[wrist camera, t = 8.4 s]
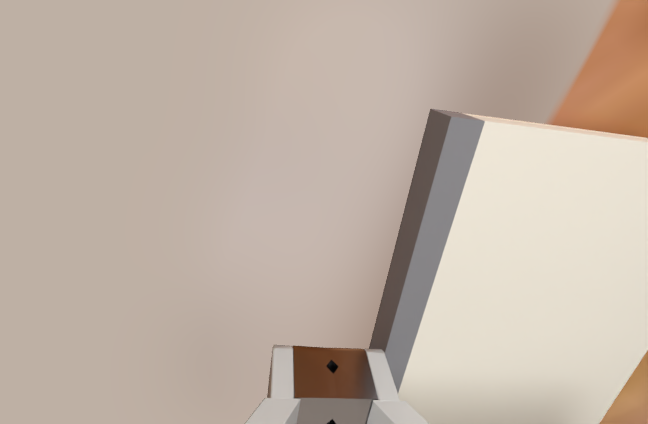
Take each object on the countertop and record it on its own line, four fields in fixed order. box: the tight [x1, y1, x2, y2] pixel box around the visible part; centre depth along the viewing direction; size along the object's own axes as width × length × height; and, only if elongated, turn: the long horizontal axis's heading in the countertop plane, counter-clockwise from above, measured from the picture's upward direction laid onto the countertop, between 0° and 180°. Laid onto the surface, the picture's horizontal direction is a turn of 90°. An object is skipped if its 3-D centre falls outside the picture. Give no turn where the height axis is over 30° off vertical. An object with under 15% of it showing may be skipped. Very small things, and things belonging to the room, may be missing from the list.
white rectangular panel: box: [369, 109, 648, 424], centre depth 13 cm, size 19×1×10 cm
